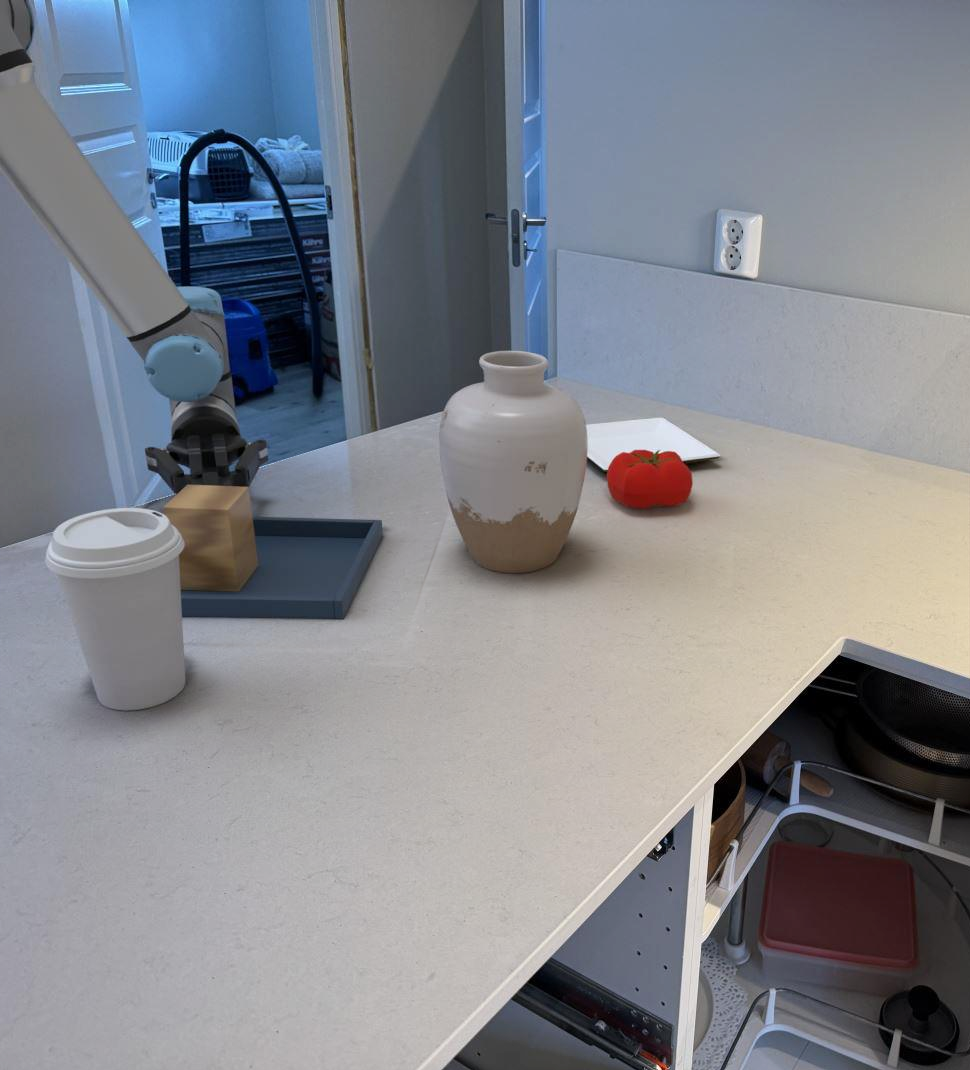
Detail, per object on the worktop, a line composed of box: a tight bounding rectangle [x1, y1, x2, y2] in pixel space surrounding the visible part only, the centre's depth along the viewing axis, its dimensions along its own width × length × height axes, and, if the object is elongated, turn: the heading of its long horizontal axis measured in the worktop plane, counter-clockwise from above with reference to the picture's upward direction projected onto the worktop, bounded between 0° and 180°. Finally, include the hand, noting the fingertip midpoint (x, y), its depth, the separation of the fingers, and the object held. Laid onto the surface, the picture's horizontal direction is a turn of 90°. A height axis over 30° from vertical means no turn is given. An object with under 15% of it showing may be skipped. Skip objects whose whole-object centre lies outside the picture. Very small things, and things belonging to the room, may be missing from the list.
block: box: [162, 485, 258, 592], centre depth 100 cm, size 6×6×9 cm
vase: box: [438, 350, 588, 574], centre depth 108 cm, size 16×16×23 cm
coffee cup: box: [44, 507, 186, 711], centre depth 81 cm, size 10×10×15 cm
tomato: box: [606, 450, 694, 510], centre depth 129 cm, size 10×11×6 cm
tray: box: [181, 516, 384, 620], centre depth 103 cm, size 24×20×2 cm
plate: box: [586, 417, 721, 473], centre depth 147 cm, size 19×19×2 cm
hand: (213, 506), depth 102 cm, fingers closed
